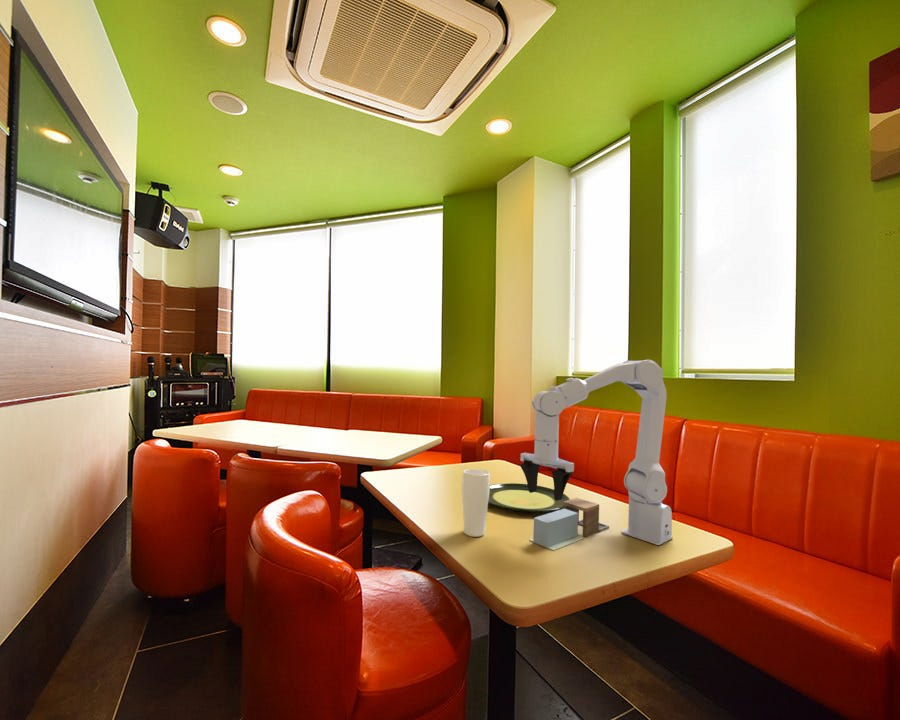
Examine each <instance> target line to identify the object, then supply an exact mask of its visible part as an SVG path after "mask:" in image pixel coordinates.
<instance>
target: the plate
mask: <svg viewBox="0 0 900 720" xmlns="http://www.w3.org/2000/svg"><path fill="white" fill-rule="evenodd" d="M518 498H519V499H527V500H529V501H530V503H527V504H522V503H518V502H515V501H514V500H515V499H518ZM567 500H571V498H569V496H568V495H566V494H565V493H563V496H562V500H558V501H556V500H555V499H554V488H549V487H546V486H541V485H537V490H536V492H533V493H530V492H529V489H528V484H527V483H517V482H516V483H515V482H514V483H513V482H511V483H509V482H508V483H495V484H490V491H489V500H488V504H490V505H492V506H495V507H496V508H497V507H498V508H500V509H503V510H509V511H514V512H521V513H522V512H523V513H535V514H536V513H537V514H538V513H551V512H555V511H558V510H561V509H563V502H564V501H567Z"/></svg>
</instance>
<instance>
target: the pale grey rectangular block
mask: <svg viewBox="0 0 900 720" xmlns="http://www.w3.org/2000/svg"><path fill="white" fill-rule="evenodd" d="M578 528H579V525H578V513H576V512H573V511H570V510H567V509H563V508H561V509H559V510H555V511H551V512H547V513H545V514H542V515H538V516H536V517H534V518H533V534H532V536H533V537H532V538H533V542H532V543H534V542H535V544H537V543H538V544H537V545H539V544H540V545H539V546H541V545H543V546H542V547H544V546H545V547H544V548H546V547H550V546H552V545H555V544H558V543H560V542H563V541H565V540H568V539H570V538H573V537H576V536H579V534H578V533H579V531H578V530H579V529H578Z"/></svg>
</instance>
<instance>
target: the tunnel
mask: <svg viewBox="0 0 900 720" xmlns="http://www.w3.org/2000/svg"><path fill="white" fill-rule="evenodd" d="M562 509H567V510H570V511H573V512H576V513H578V526H580V525H579V521H580V520H579V519H580V511H582V520H583V526H582V534H581V535H582V536H581V537H583V538H588V537H590V536H593V535H595V534H598V533H600V532H599V523H600V504H599V503H596V502H593V501H589V500H585V499H582V498H578V497H575V498H572V499H571V498H570V500H567V501H564V502H563V508H562Z"/></svg>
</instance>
